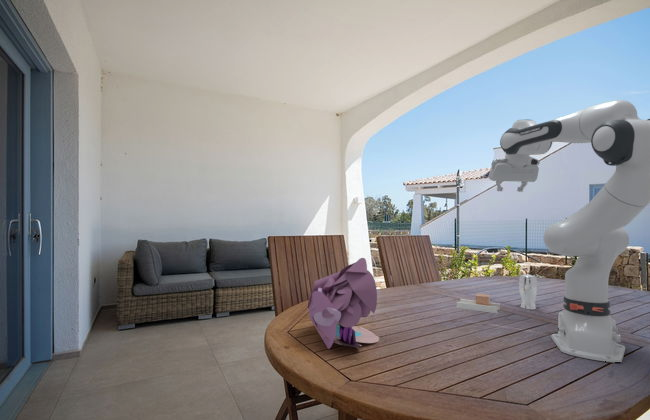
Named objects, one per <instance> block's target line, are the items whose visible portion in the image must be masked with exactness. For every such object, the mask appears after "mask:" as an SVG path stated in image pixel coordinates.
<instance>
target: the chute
mask: <svg viewBox="0 0 650 420" xmlns="http://www.w3.org/2000/svg"><path fill="white" fill-rule="evenodd" d="M500 307H501V304H500V303H497V302H496V303H495V302H490V306H486V305H478V304H476V300H473V299H466V298H465V299H464V298H459V301H456V308H457V309H463V310H468V311H469V310H470V311H478V312H485V313H492V314H499V312H500V309H501V308H500Z"/></svg>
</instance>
